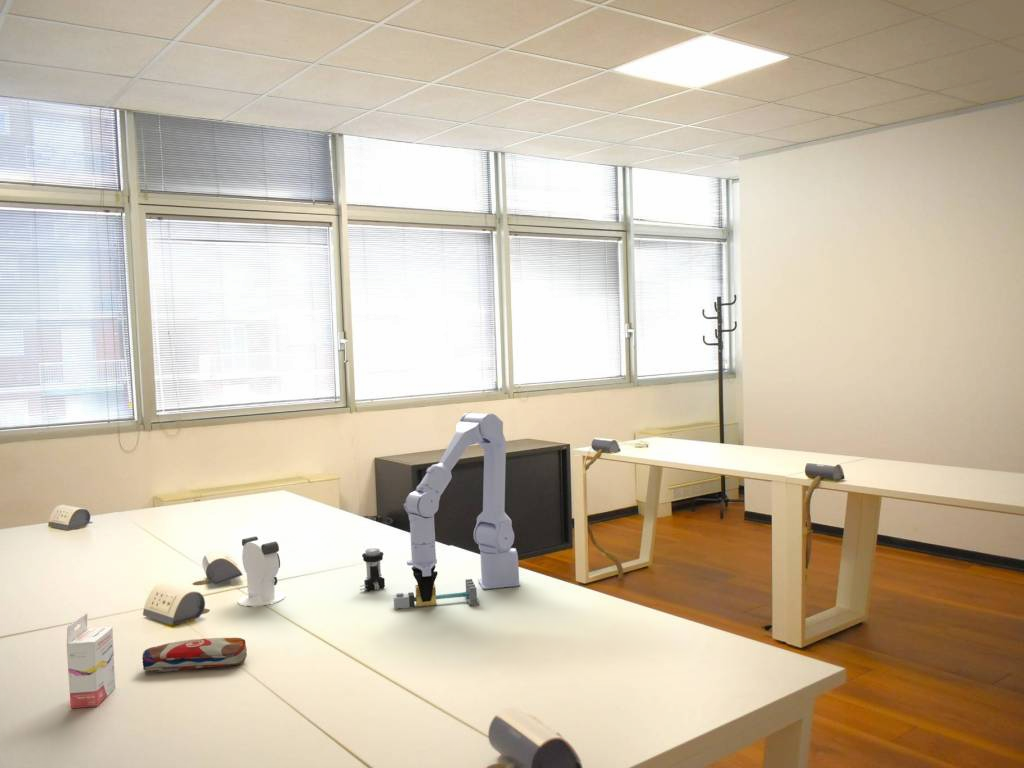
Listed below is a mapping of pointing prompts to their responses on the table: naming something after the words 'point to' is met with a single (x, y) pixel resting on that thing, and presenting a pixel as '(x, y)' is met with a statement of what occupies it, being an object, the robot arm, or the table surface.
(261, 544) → the panda figurine
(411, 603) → the band
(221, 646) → the pencil case
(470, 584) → the cable comb
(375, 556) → the push button
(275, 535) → the table surface
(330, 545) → the table surface
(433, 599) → the marker sleeve
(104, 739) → the table surface
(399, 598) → the connector
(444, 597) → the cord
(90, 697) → the ink cartridge box
